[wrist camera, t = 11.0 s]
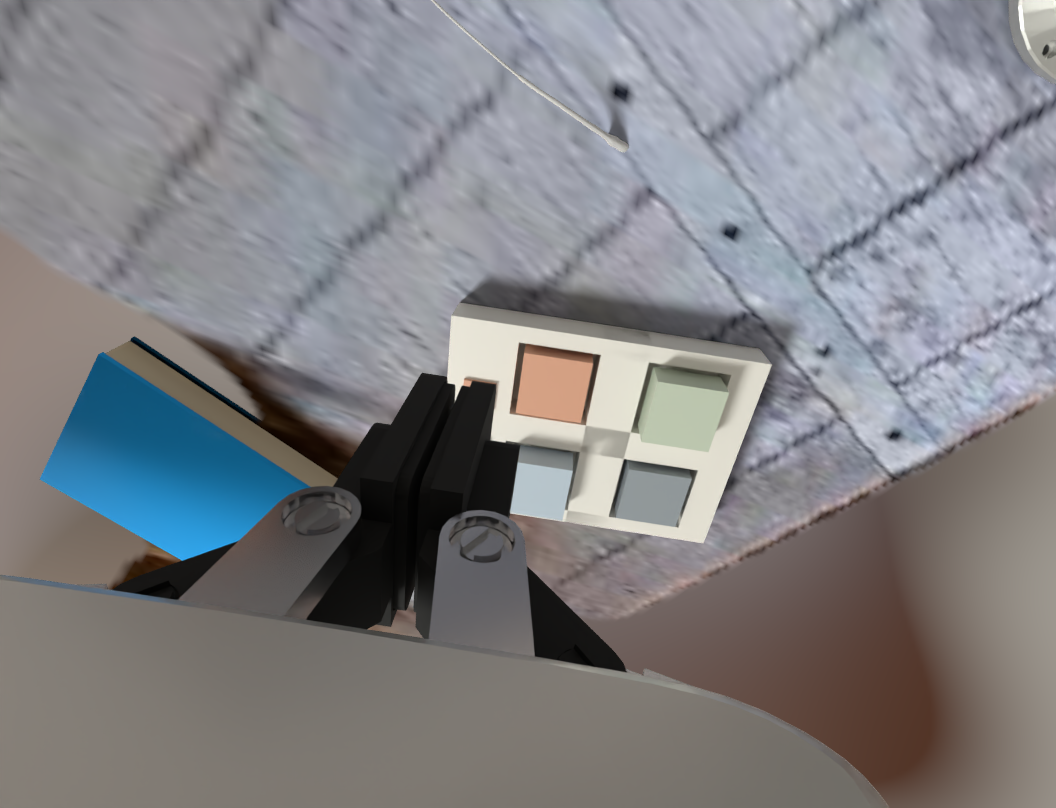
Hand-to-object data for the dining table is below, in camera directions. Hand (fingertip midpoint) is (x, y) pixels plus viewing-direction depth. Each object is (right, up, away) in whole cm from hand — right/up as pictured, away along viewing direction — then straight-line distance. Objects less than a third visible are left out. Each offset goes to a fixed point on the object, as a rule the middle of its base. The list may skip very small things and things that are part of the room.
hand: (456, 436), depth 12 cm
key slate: (+12, -6, +34) cm, 36 cm away
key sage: (+13, +1, +29) cm, 31 cm away
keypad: (+7, -1, +33) cm, 34 cm away
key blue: (+2, -5, +33) cm, 33 cm away
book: (-27, -6, +40) cm, 49 cm away
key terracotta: (+4, +3, +30) cm, 30 cm away
